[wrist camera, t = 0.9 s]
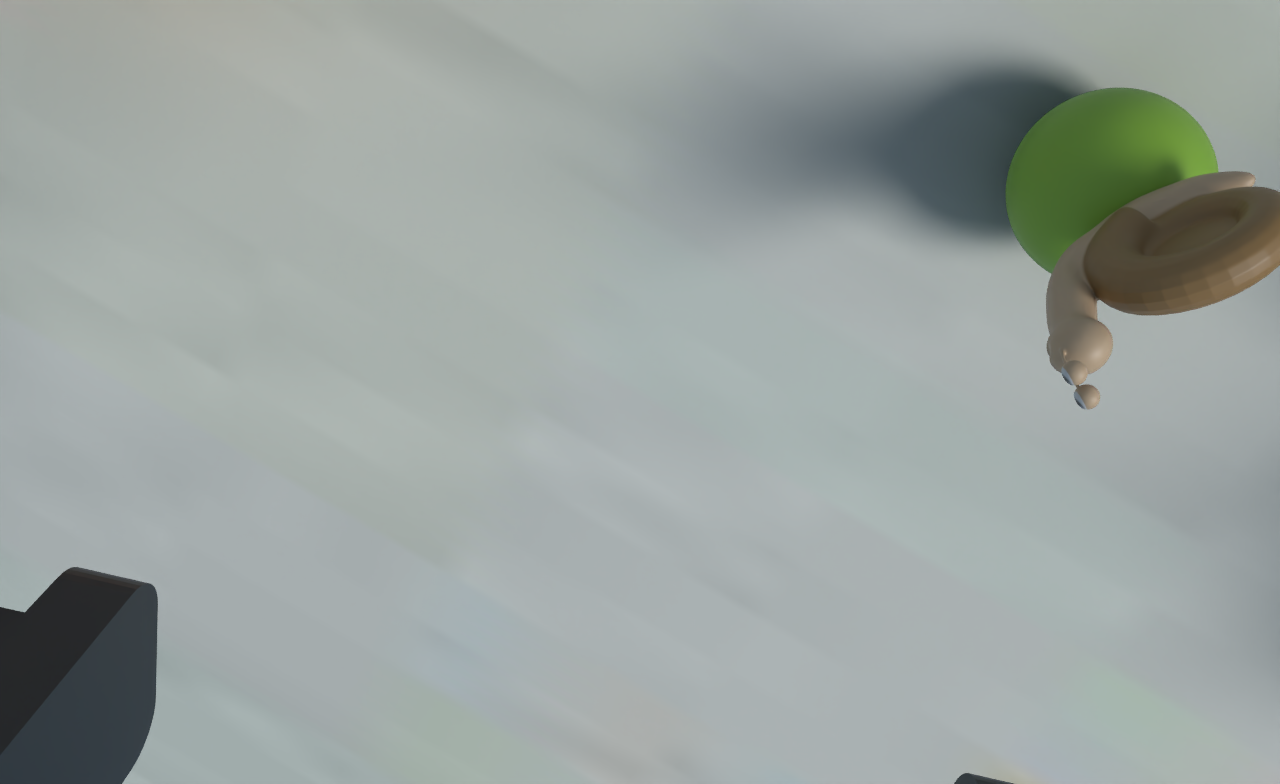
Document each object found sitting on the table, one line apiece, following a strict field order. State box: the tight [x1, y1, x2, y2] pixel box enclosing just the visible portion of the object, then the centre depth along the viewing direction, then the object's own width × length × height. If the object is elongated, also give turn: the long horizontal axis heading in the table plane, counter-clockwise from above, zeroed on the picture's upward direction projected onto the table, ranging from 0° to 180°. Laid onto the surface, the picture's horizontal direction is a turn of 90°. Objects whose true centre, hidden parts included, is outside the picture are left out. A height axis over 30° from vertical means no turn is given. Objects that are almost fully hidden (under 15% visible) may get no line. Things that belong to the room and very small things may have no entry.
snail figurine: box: [1006, 88, 1280, 409], centre depth 28 cm, size 5×6×12 cm
